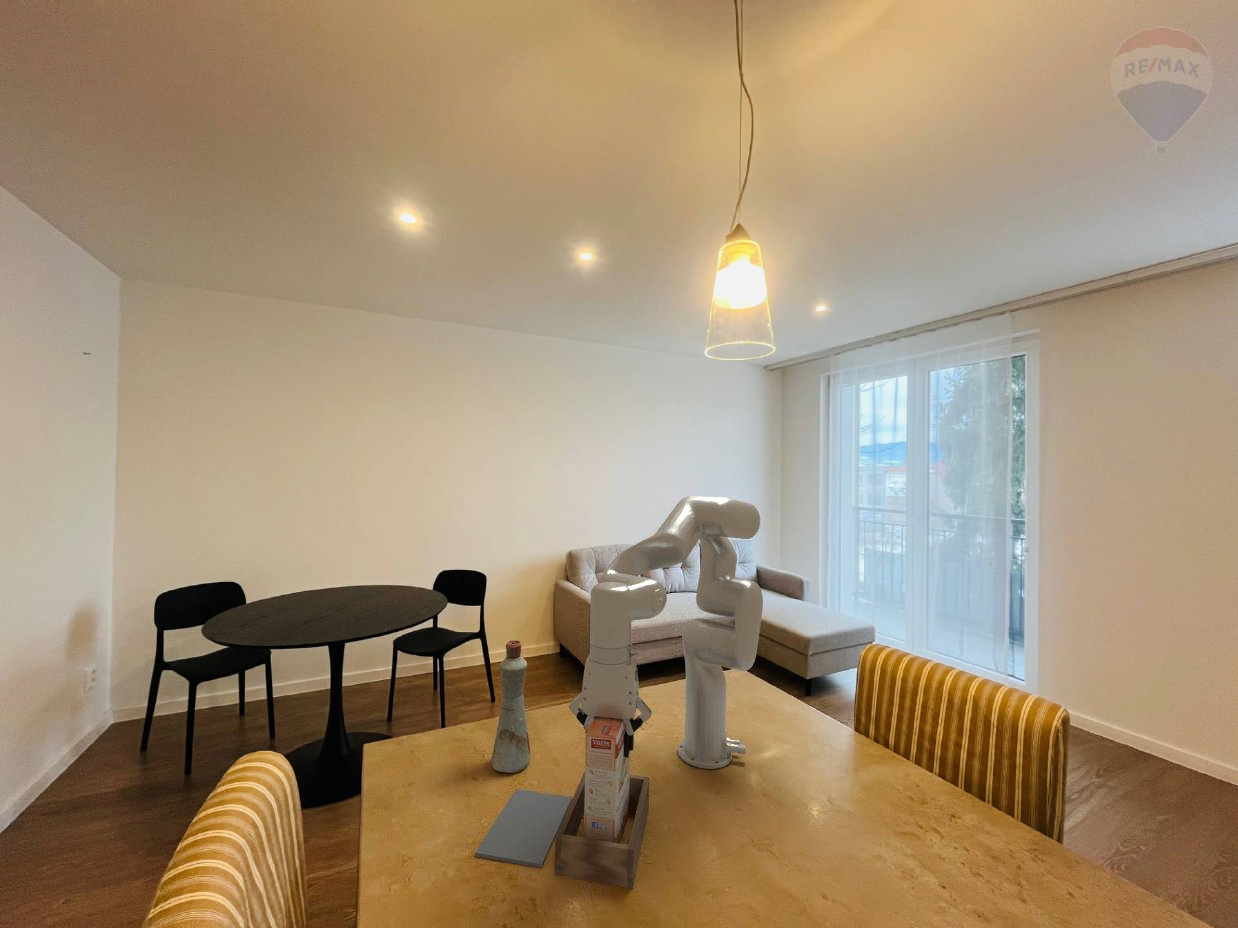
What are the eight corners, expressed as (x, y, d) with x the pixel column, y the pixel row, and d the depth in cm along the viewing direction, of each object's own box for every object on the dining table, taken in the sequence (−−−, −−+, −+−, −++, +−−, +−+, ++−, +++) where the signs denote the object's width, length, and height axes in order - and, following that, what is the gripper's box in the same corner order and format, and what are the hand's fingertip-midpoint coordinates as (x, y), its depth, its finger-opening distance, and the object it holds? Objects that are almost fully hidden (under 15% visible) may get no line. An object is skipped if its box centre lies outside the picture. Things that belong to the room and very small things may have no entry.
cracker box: (617, 863, 84) (617, 737, 84) (582, 857, 85) (582, 733, 85) (631, 808, 97) (632, 699, 98) (601, 803, 99) (602, 696, 99)
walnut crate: (648, 807, 99) (649, 776, 99) (632, 888, 80) (633, 850, 80) (585, 798, 102) (585, 768, 102) (554, 874, 82) (555, 837, 82)
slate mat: (571, 799, 101) (572, 796, 101) (541, 867, 83) (541, 863, 84) (515, 791, 103) (515, 788, 103) (474, 856, 86) (475, 852, 86)
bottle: (481, 770, 111) (485, 642, 111) (505, 750, 119) (509, 631, 120) (515, 780, 107) (518, 648, 108) (537, 758, 116) (540, 636, 116)
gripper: (659, 648, 94) (658, 745, 93) (570, 641, 97) (569, 735, 97) (655, 663, 86) (654, 769, 86) (558, 655, 90) (557, 757, 89)
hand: (609, 750), depth 91 cm, fingers closed on cracker box, 5 cm apart
